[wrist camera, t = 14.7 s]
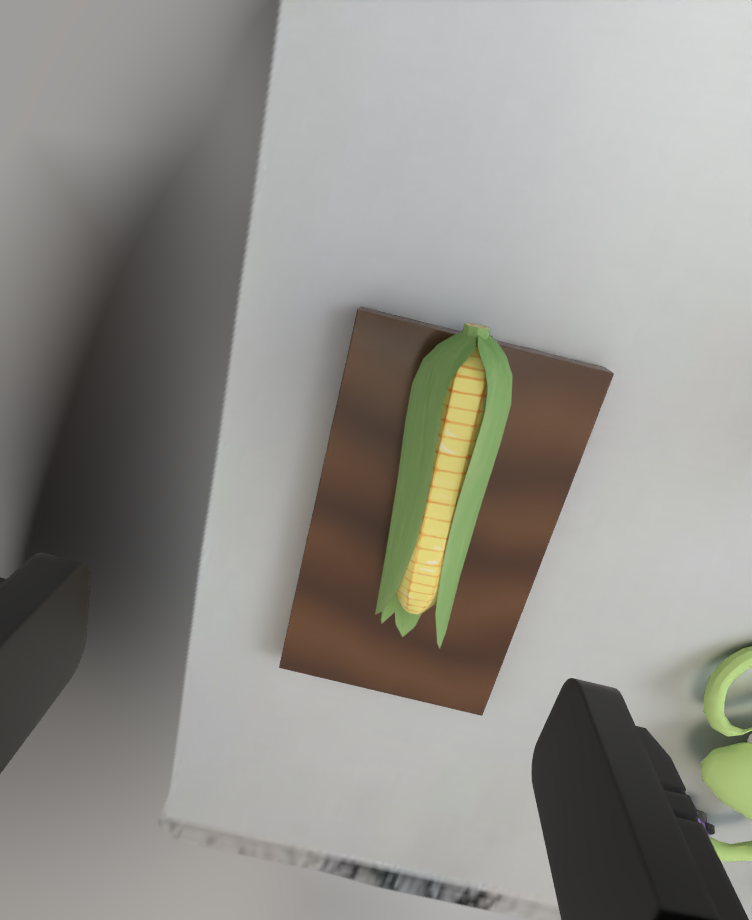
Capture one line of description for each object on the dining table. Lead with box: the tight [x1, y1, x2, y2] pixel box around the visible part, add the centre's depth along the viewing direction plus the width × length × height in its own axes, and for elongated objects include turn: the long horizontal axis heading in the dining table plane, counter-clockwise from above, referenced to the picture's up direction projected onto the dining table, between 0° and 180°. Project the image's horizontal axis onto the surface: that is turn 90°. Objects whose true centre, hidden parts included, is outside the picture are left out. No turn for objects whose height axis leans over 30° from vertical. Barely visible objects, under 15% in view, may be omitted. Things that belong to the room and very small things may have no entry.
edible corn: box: [375, 323, 512, 649], centre depth 33 cm, size 5×20×5 cm, turn 170°
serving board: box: [279, 307, 614, 715], centre depth 37 cm, size 24×14×2 cm, turn 167°
